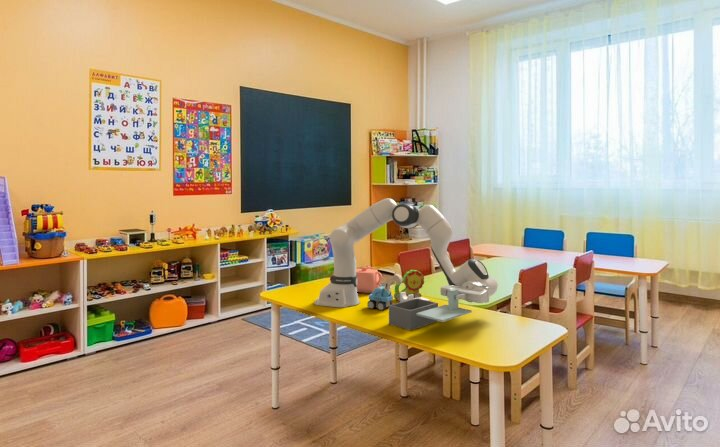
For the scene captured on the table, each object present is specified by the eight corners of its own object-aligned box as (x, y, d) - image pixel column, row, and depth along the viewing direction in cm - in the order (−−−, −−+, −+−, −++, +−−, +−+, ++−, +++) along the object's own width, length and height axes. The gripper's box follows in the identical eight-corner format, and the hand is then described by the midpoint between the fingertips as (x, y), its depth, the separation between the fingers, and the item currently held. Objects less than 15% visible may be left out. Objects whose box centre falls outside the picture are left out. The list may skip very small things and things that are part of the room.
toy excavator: (396, 313, 209) (396, 276, 207) (365, 308, 218) (365, 273, 216) (404, 309, 216) (404, 273, 215) (374, 304, 225) (374, 270, 223)
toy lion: (397, 301, 229) (397, 272, 228) (393, 299, 235) (393, 270, 233) (425, 299, 234) (425, 270, 233) (421, 296, 240) (421, 268, 238)
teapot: (386, 287, 263) (386, 263, 262) (379, 295, 244) (379, 269, 243) (353, 285, 268) (353, 262, 267) (343, 293, 249) (343, 268, 248)
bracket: (409, 311, 213) (409, 295, 212) (400, 307, 219) (400, 292, 219) (430, 307, 220) (430, 291, 219) (421, 304, 226) (421, 289, 225)
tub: (388, 323, 193) (388, 305, 192) (416, 315, 205) (416, 298, 204) (410, 330, 184) (410, 310, 183) (437, 321, 196) (438, 303, 195)
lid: (416, 316, 181) (416, 293, 180) (445, 307, 193) (445, 286, 192) (442, 323, 171) (442, 299, 170) (471, 313, 184) (471, 290, 183)
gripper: (451, 280, 202) (431, 285, 192) (492, 287, 186) (473, 293, 177) (451, 294, 202) (431, 299, 193) (492, 302, 187) (473, 309, 178)
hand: (452, 296), depth 185 cm, fingers closed on lid
